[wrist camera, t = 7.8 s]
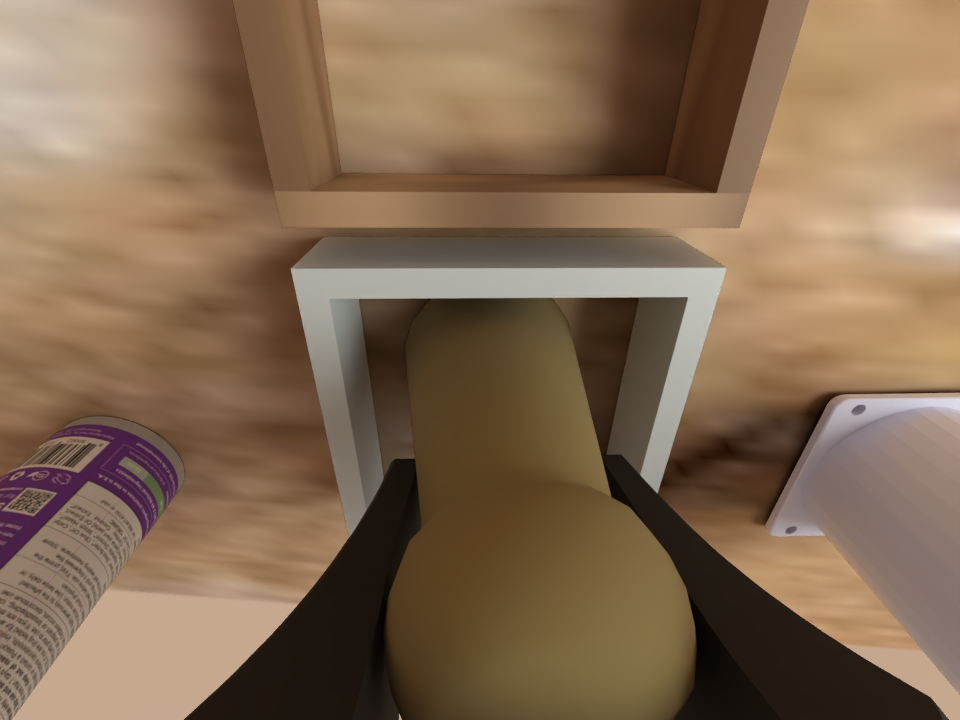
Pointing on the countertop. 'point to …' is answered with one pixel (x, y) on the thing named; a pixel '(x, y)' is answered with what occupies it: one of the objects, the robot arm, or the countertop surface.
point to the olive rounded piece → (524, 538)
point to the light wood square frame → (526, 198)
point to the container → (72, 536)
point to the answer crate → (506, 274)
